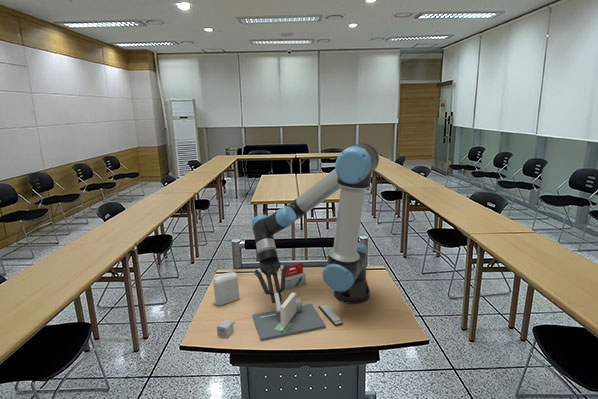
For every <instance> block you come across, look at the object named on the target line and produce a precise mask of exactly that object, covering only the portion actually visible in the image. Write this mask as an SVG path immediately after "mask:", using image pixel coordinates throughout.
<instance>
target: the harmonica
mask: <svg viewBox="0 0 598 399" xmlns="http://www.w3.org/2000/svg"><path fill="white" fill-rule="evenodd" d="M317 308H318V309H319V311H321V313H322V314H323V315H324V316H325V317H326V318H327V319H328V320H329V321H330V322H331V324H332V325H333V326H334V327H337V328H338V327H340V326H343V322H342V321H341V318H340V317H339V316H338V315H337V314H336V313H335V311H334V310H332V308H330V307H329V305H328V304H325V303H324V304H319V305H318V306H317Z"/></svg>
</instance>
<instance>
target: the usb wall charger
mask: <svg viewBox="0 0 598 399" xmlns="http://www.w3.org/2000/svg"><path fill="white" fill-rule="evenodd" d="M235 322H236V321H232V320H228V319H223V320H222V321H221V323H219V324H218V325H217V326H216V332H217V337H221V338H225V339H226V338H228V337H229V336H230V334H232V332H233V331H234V329H235V328H234V324H235Z"/></svg>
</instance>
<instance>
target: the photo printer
mask: <svg viewBox="0 0 598 399" xmlns="http://www.w3.org/2000/svg"><path fill="white" fill-rule="evenodd" d="M212 282H213V292H214V300H215V303H214V304H215V305H216V306H218V307H219V306H223V305H226V304H229V303H233V302H235V301H237V300H239V299H240V291H239V287H240V286H239V278H238V275H237V273H236V272H233V271H232V272H226V273H222V274H219V275H217V276H216V277H214V278H213V281H212Z"/></svg>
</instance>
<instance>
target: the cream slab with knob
mask: <svg viewBox="0 0 598 399" xmlns="http://www.w3.org/2000/svg"><path fill="white" fill-rule="evenodd" d="M302 305H303V299H302V298H301V297H297V293H296V292H291V293H290V294H289V296H288V297H287V298H286V299H285V301H284V302H283V303H282V304H281V307H280V315H281V327H282V328H281V329H280V331H283V330H284V328H285V327H286V326H287V324H288V323H289V321H290V320H291V319H292V317H293V316H294V314H295V313H296V312H300V311H302Z"/></svg>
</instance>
